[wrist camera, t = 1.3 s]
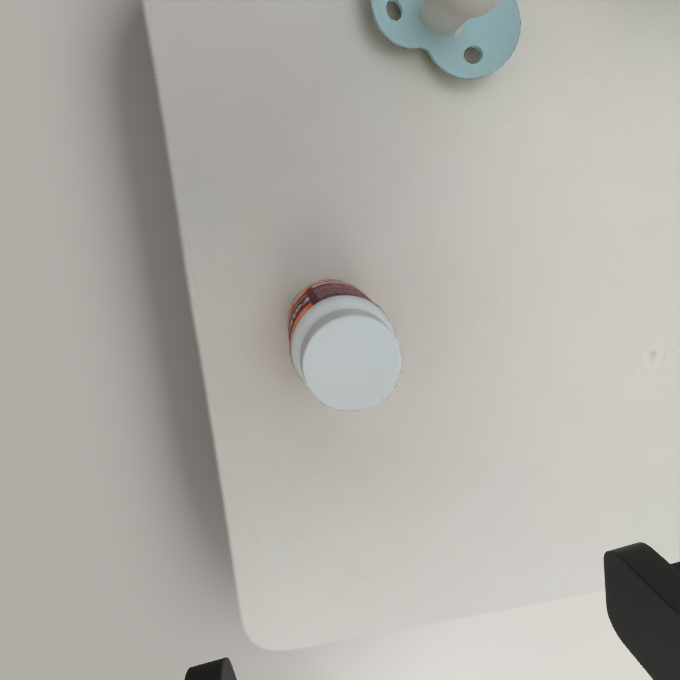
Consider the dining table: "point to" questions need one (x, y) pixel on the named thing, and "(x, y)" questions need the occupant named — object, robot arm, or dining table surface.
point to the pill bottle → (343, 346)
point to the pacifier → (454, 31)
